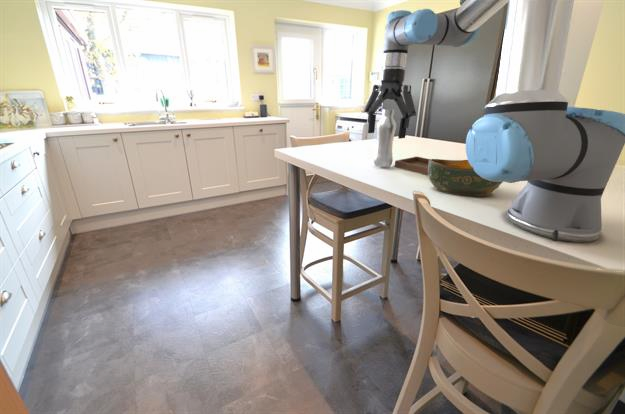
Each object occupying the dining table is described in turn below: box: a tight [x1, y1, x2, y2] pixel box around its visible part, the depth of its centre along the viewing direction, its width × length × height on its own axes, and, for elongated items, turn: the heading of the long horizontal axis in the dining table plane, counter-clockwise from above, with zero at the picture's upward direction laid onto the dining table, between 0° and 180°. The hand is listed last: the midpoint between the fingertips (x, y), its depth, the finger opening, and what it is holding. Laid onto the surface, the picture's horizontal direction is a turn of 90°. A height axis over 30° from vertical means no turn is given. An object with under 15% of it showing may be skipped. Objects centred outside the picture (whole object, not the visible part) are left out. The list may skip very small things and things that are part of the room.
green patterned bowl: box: [427, 158, 503, 198], centre depth 77 cm, size 13×20×10 cm, turn 49°
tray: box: [394, 156, 431, 176], centre depth 100 cm, size 14×22×2 cm, turn 37°
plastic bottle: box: [373, 108, 397, 168], centre depth 100 cm, size 6×7×20 cm
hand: (385, 135), depth 100 cm, fingers open, 13 cm apart
